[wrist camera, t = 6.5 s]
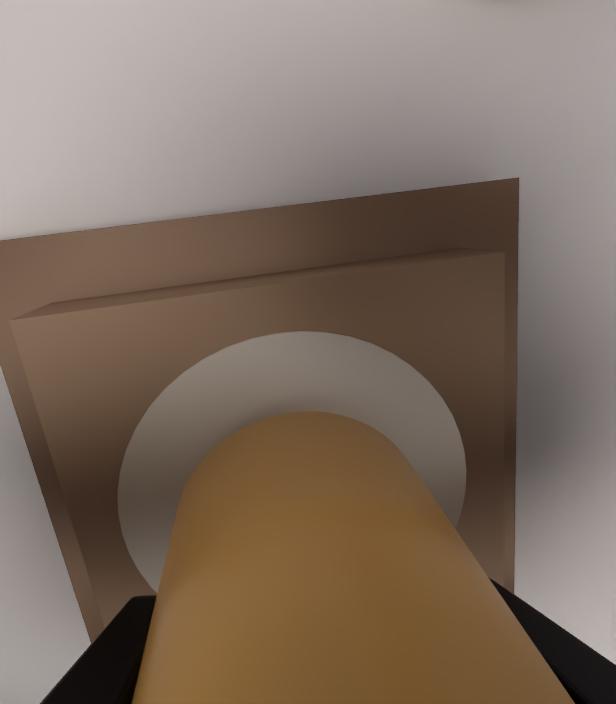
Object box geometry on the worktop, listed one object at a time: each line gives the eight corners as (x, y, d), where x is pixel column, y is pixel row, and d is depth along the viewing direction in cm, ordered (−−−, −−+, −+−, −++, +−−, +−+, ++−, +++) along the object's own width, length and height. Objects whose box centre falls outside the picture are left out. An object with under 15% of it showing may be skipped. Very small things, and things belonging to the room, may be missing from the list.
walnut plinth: (494, 573, 16) (555, 658, 13) (115, 650, 15) (81, 765, 12) (494, 181, 12) (578, 168, 9) (-10, 242, 11) (-109, 251, 8)
